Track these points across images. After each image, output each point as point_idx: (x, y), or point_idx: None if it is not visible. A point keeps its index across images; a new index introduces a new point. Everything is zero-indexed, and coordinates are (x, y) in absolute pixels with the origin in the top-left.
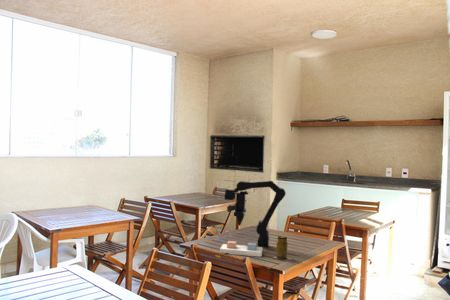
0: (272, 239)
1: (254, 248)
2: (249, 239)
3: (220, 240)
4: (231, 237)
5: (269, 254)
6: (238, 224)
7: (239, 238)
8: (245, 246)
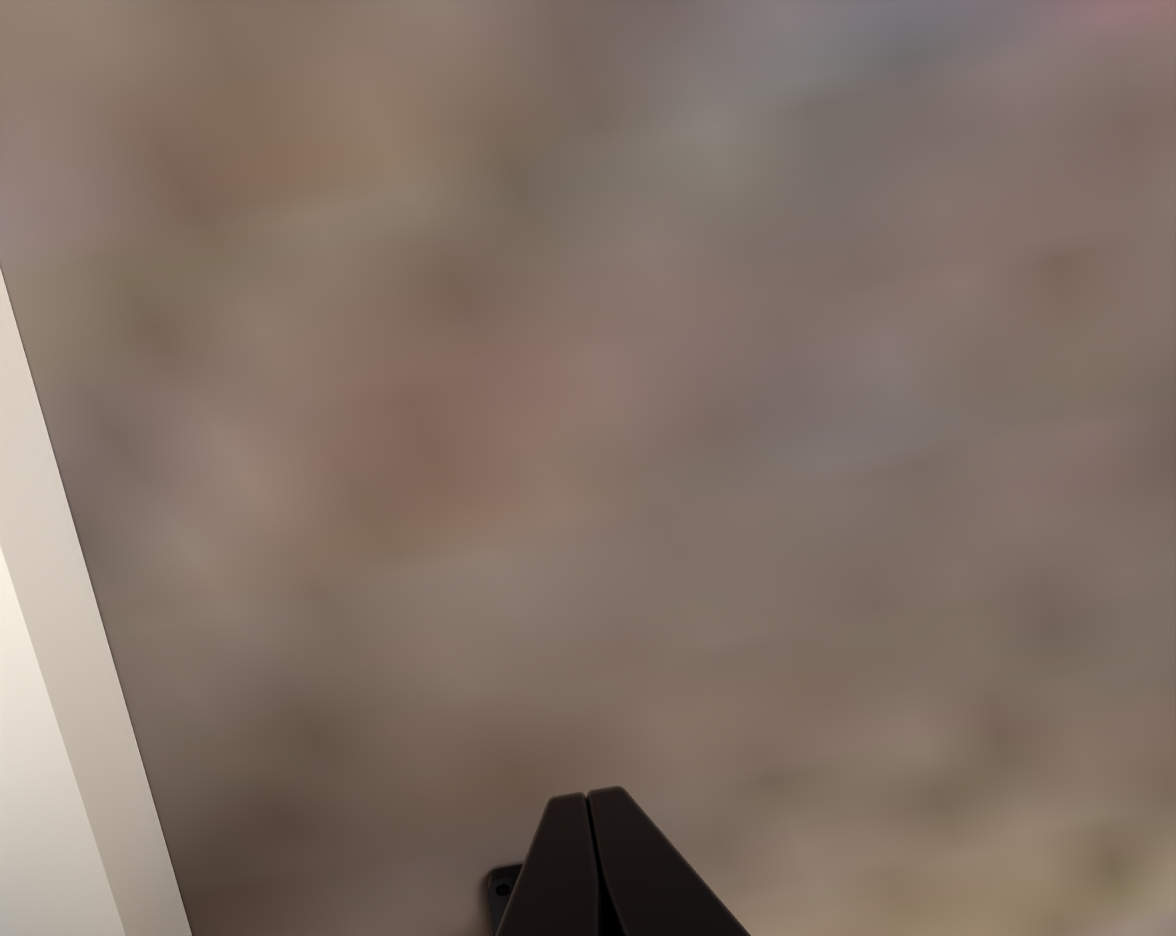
0: (1108, 932)
1: None
2: (1022, 612)
3: (747, 4)
4: (1117, 222)
5: None
6: (535, 838)
7: (1061, 413)
8: (11, 800)
